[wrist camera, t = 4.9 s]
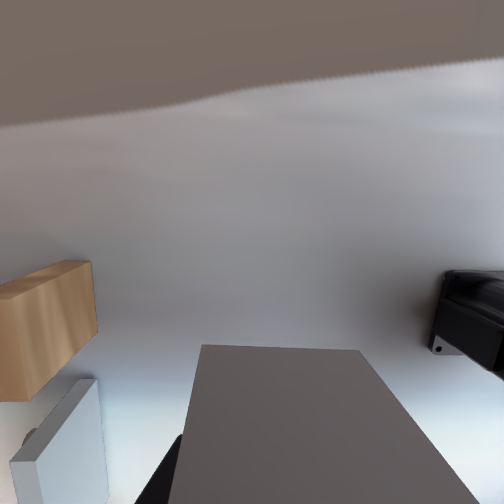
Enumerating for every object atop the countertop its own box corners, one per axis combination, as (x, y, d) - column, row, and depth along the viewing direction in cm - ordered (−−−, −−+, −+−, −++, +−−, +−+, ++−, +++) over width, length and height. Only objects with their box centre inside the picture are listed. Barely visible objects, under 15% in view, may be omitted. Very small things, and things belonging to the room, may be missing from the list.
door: (97, 378, 17) (35, 461, 12) (109, 496, 20) (63, 607, 15) (63, 379, 17) (-14, 462, 12) (80, 497, 20) (23, 609, 14)
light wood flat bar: (93, 261, 16) (-14, 313, 9) (119, 522, 21) (63, 680, 14) (61, 260, 16) (-74, 311, 9) (94, 523, 21) (26, 683, 14)
